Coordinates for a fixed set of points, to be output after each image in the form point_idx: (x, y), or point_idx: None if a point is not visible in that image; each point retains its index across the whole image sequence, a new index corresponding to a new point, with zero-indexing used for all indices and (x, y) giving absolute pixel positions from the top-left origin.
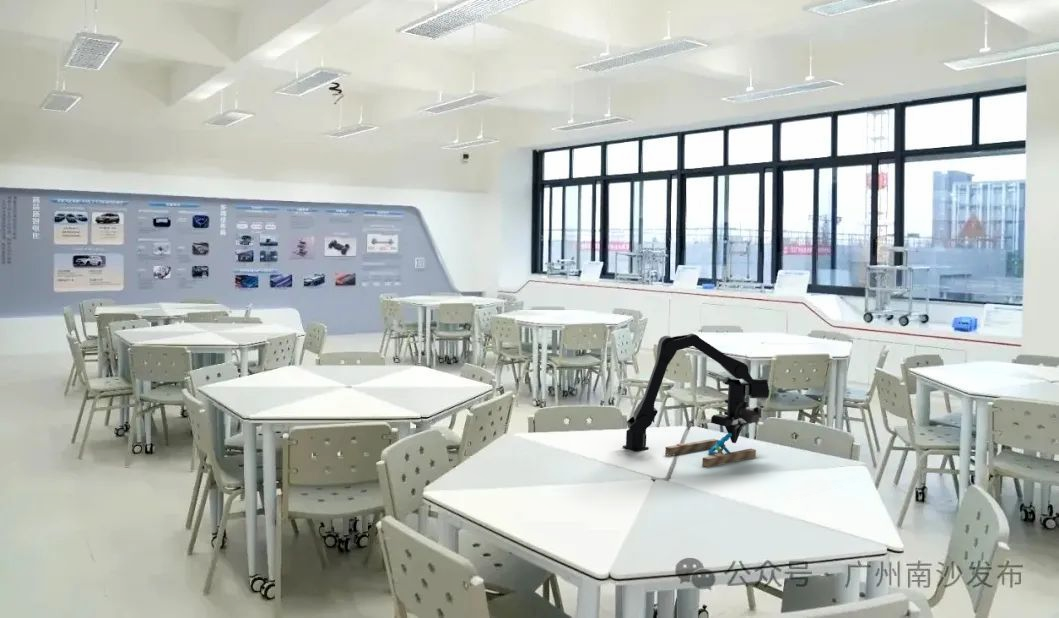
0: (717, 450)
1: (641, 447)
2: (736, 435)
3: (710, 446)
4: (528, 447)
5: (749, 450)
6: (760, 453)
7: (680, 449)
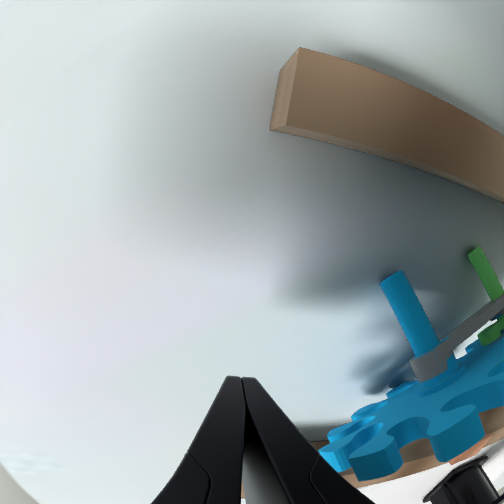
0: (490, 326)
1: (472, 469)
2: (267, 441)
3: None
4: (498, 484)
5: (396, 97)
6: (84, 127)
7: (486, 423)
